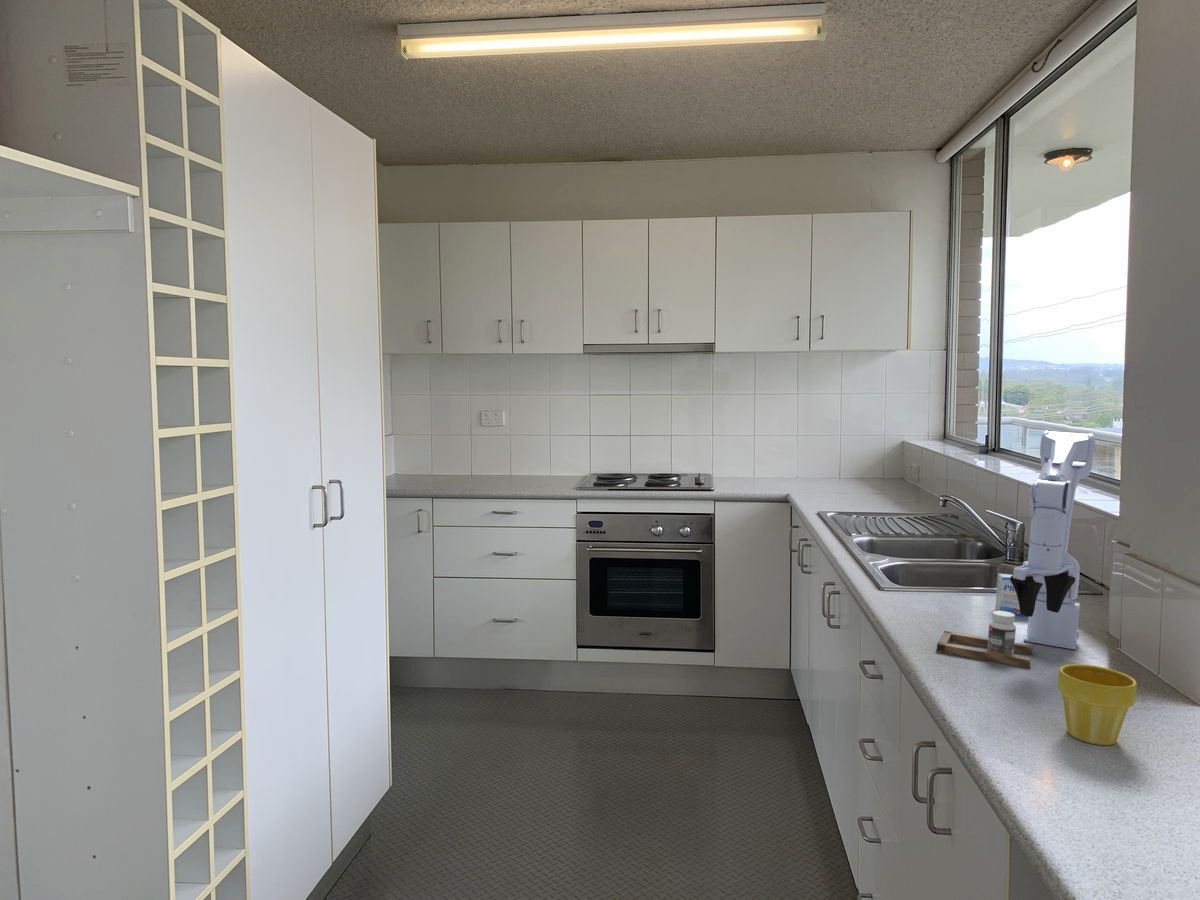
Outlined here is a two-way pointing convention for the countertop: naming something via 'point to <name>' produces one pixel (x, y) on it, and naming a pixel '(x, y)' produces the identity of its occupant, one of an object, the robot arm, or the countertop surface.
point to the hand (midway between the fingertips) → (1039, 613)
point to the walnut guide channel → (982, 654)
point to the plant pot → (1095, 701)
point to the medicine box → (1006, 595)
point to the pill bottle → (1002, 632)
